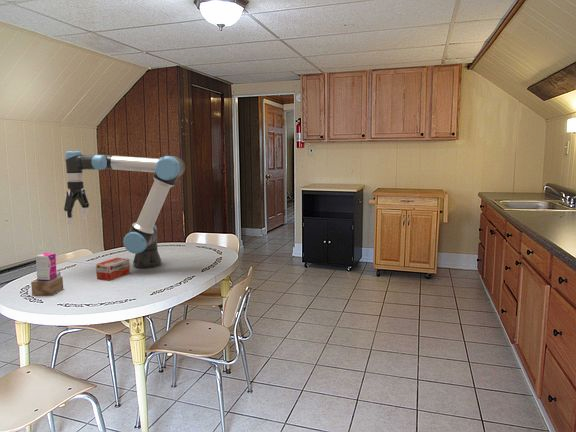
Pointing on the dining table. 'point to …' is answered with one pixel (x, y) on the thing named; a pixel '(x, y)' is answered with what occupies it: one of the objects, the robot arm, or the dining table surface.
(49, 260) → the supplement box
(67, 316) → the dining table surface
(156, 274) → the dining table surface
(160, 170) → the robot arm
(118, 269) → the medicine box
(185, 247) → the dining table surface
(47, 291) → the brown cardboard box
